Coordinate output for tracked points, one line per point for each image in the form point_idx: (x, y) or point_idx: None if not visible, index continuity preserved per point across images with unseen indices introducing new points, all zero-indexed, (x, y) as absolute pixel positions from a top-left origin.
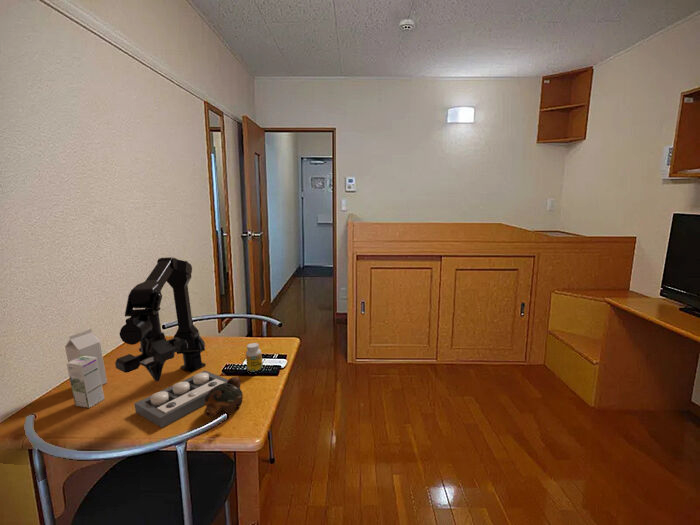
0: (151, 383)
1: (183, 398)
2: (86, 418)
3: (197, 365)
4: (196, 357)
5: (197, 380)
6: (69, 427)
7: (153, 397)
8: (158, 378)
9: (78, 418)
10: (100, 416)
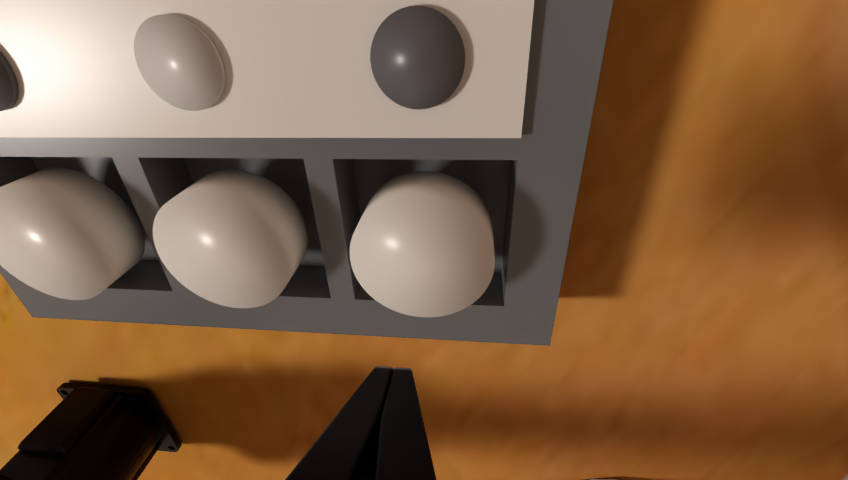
0: None
1: (280, 72)
2: (687, 433)
3: (88, 401)
4: (44, 449)
5: (82, 218)
6: (780, 431)
7: (466, 275)
8: (380, 392)
9: (699, 455)
10: (648, 402)
